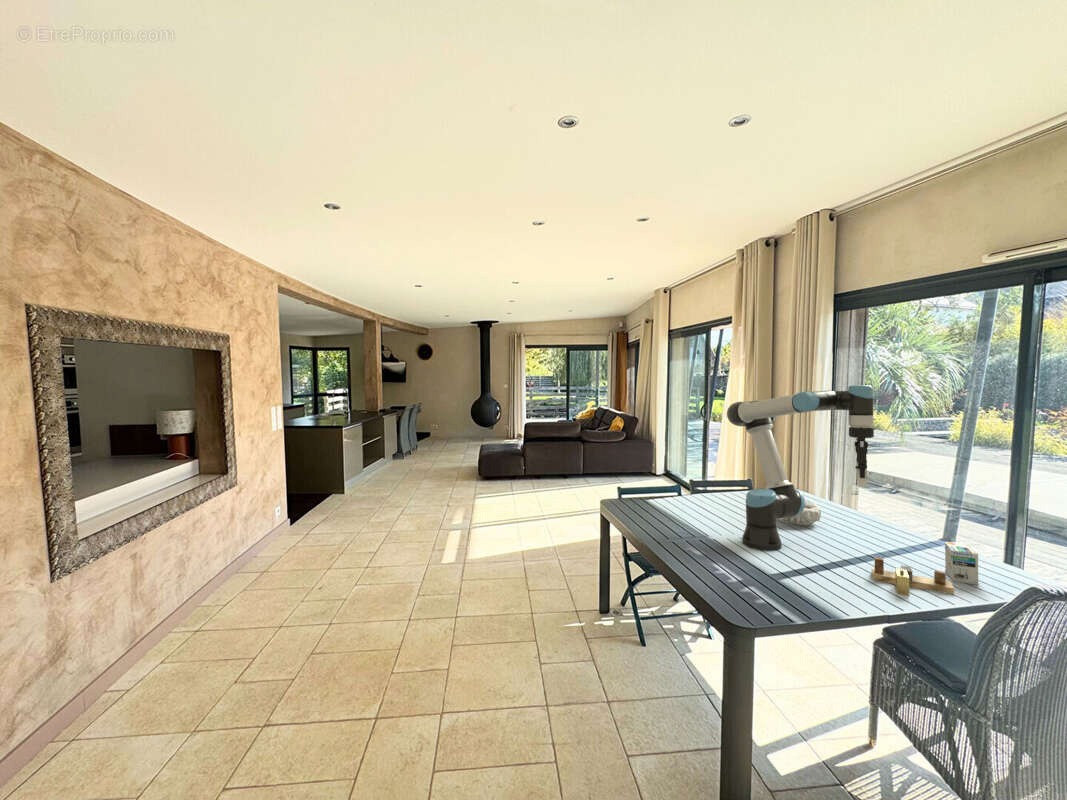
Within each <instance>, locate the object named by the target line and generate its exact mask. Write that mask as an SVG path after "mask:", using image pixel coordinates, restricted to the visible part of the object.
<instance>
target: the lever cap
mask: <svg viewBox="0 0 1067 800" xmlns="http://www.w3.org/2000/svg"><path fill="white" fill-rule="evenodd" d="M894 572H895V584H894V586H895V589H896V593H897V594H898V595H902V596H907V597H910V586H909V576H908V573H907V570H904V569H903V568H901V567H900V568H894Z"/></svg>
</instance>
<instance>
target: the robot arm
mask: <svg viewBox="0 0 1067 800" xmlns="http://www.w3.org/2000/svg"><path fill="white" fill-rule="evenodd" d="M874 398H875V396H874V388H873V386H871V385H869V384H866V385H863V384H860V385H859V384H857V385H849V386H848V388H847V390H818V391H809V390H806V391H799V392H797V393H794V394H790V395H789V394H788V395H784V396H779V397H773V398H769V399H763V400H753V401H750V400H749V401H736V402H733V403H732V404H730V405H729V406H728V408H727V411H726V417H727V420H728V421H729V422H730V424H732V425H734V426H738V427H745V429H746V432H747V433H748V434H750V435H751V437H752V441H753V445H754V447H755V449H756V453H757V457H758V461H759V462H760V466H761V469H762V472H763V476H764V480H765V481H766V484H767V485H766V486H765V488H755V489H750V490H749V491H748V492H746V496H745V513H746V514H745V515H746V516H745V520H746V524H745V528H744V530H743V535H742V537H741V538H742V539H741V541H742V545H744V546H746V547H747V548H751V549H754V550H759V551H768V552H769V551H778V550H781V548H782V540H781V537H780V535H779V531H778V529H777V520H779V519H782V518H786V517H793V516H796V515H799V514H800V513H802V511H803V509H804V507H805V502H806V500H805V499H806V498H805V497H804V494H803V493H802V492H800V491H799V490H798V489H797V488H796V489H795V486H794V483H793V482H791V481H789V480H788V477H787V473H786V470H785V468H784V464H783V461H782V458H781V456H780V452H779V450H778V446H777V444H776V441H775V438H774V435H773V432H772V429H773V427H774V423H773V422H774V421H775V417H780V416H786V415H787V416H788V415H793V414H800V413H801V414H803V413H809V412H818V411H820V412H822V411H848V420H847V421H848V422H847V423H848V426H849V427H848V436H849V437H850V438H855V440H856V441H854V447H855V448H854V449H855V454H856V458H855V460H856V465H855V469H856V481H857V487H859V488H868V465H867V464H868V460H867V458H868V457H867V454H868V447H869V442H868V441H866V439H872V438H874V436H875V432H874V431H875V428H874V427H873V426H874V421H876V420H877V418H876V417H874V401H875V400H874Z"/></svg>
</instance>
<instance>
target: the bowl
mask: <svg viewBox="0 0 1067 800" xmlns="http://www.w3.org/2000/svg"><path fill="white" fill-rule="evenodd" d="M821 512H822V511H821V507H820V506H819V505H818V504H817V503H815V502H810V501H807V502H806V501H805V507H804V509H803V511H802V513H800V514H799V515H796V516H793V517H786V518H781V519H782V520H783V521H785V522H787V523H789V524H793V525H796V524H797V526H811V525H812V524H814V523H816V522H820V520H821V518H822V517H821V514H822V513H821Z"/></svg>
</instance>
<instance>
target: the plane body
mask: <svg viewBox="0 0 1067 800" xmlns="http://www.w3.org/2000/svg"><path fill="white" fill-rule="evenodd" d="M884 561H885V560H884V557H879V556H874V568H871V579H872V581H876V582H883V583H889V584H893V585H895V571H888V570H884V568H885V567H884ZM900 568H903V569H904V570H907V573H908V576H909V588H910V587H911V588H915V589H921V590H927V591H932V590H933V592H938V591H941V592H940V593H943V592H946V593H945V594H949V593H952V594H951V595H955V587H954V585H953V584H952V581H949V580H947V572H946V571H941V570H934V571H933V572H934V573H933V575H934V577H933V578H931V577H926V576H919V575H914V574H913V570H912V567H911V566H907V565H901V567H900Z"/></svg>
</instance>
